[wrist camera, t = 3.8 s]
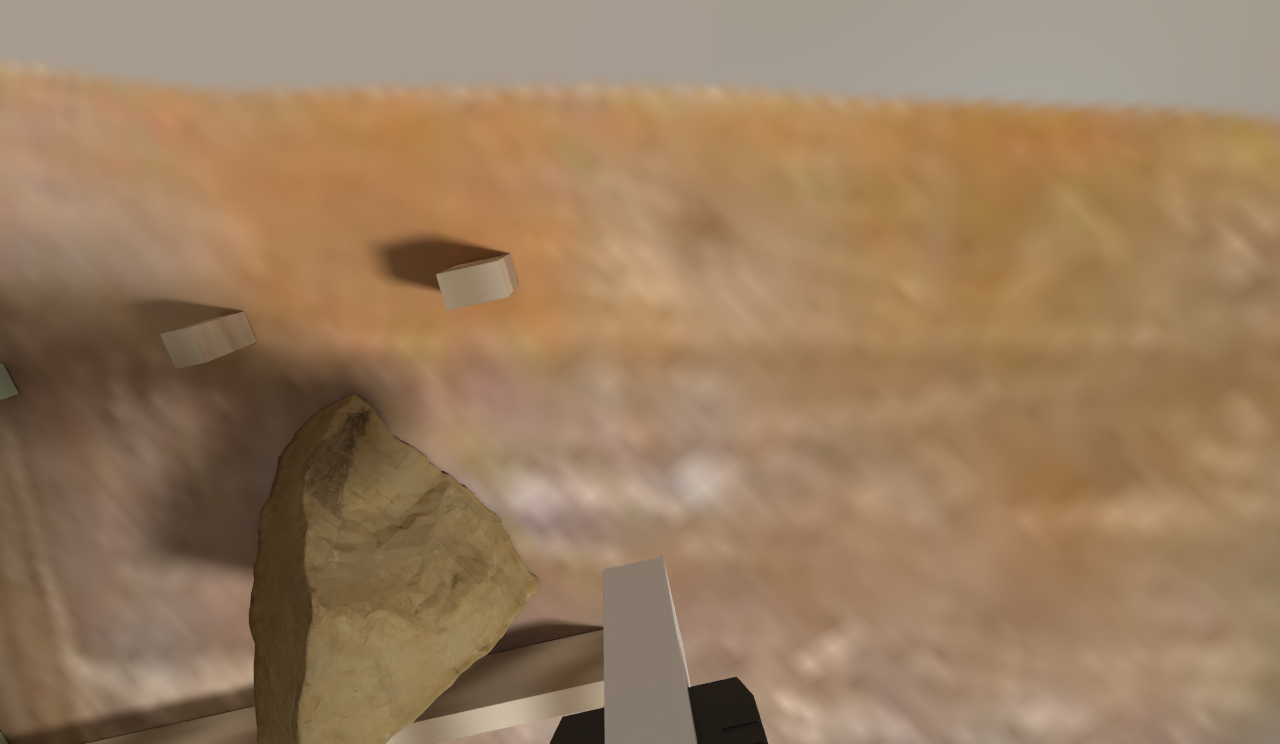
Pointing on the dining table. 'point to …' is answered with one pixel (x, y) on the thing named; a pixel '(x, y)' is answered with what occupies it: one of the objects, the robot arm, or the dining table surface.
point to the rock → (370, 584)
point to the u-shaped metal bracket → (490, 685)
